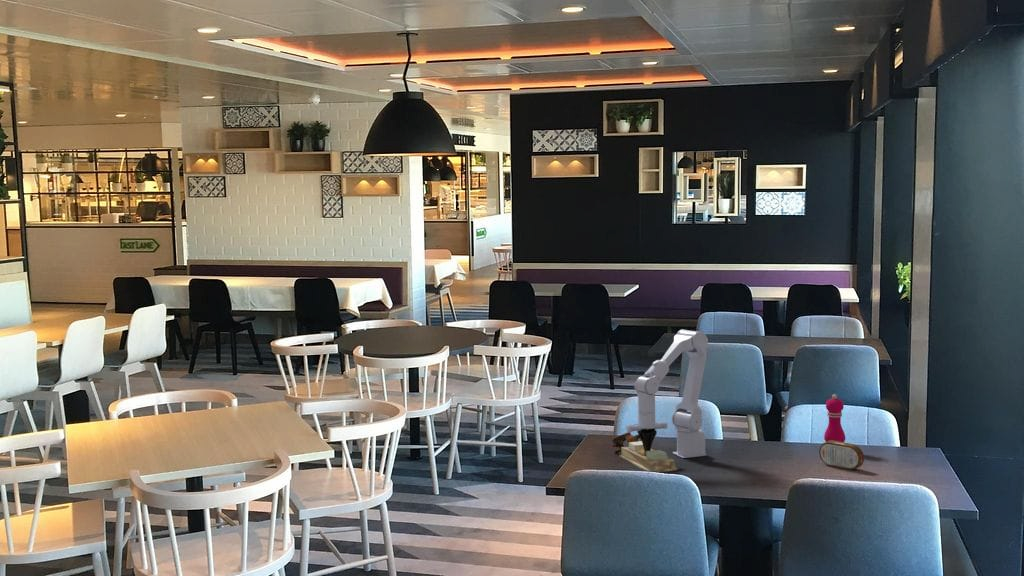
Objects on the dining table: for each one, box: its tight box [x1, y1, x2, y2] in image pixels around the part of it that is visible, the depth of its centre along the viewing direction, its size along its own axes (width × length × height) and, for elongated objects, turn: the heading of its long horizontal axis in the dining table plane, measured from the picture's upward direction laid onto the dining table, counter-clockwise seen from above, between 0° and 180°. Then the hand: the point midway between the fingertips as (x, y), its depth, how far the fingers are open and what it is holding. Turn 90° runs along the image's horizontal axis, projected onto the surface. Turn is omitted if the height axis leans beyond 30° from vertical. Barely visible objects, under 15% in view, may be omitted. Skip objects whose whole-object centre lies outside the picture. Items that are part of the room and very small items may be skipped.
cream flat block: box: [638, 448, 654, 456], centre depth 341 cm, size 5×5×2 cm
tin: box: [818, 440, 865, 471], centre depth 330 cm, size 15×3×8 cm, turn 43°
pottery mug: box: [611, 431, 642, 450], centre depth 359 cm, size 12×10×8 cm
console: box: [618, 446, 678, 473], centre depth 341 cm, size 10×24×3 cm, turn 18°
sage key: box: [647, 449, 668, 461], centre depth 334 cm, size 5×5×2 cm
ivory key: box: [628, 440, 644, 452], centre depth 348 cm, size 5×5×2 cm
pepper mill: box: [823, 393, 846, 443], centre depth 354 cm, size 7×7×20 cm
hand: (647, 450), depth 341 cm, fingers closed, pressing on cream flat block
